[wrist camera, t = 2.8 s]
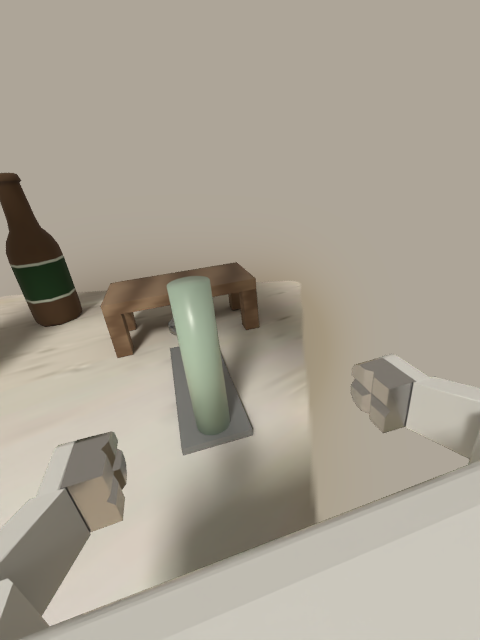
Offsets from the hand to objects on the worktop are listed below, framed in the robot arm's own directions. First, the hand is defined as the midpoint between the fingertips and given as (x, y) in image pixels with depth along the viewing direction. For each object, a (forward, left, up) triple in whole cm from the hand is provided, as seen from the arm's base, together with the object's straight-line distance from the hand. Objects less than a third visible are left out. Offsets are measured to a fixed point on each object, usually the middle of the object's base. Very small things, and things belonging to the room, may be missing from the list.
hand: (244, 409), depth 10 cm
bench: (0, +34, -13) cm, 37 cm away
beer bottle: (-22, +49, -13) cm, 56 cm away
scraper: (0, +19, -13) cm, 23 cm away
